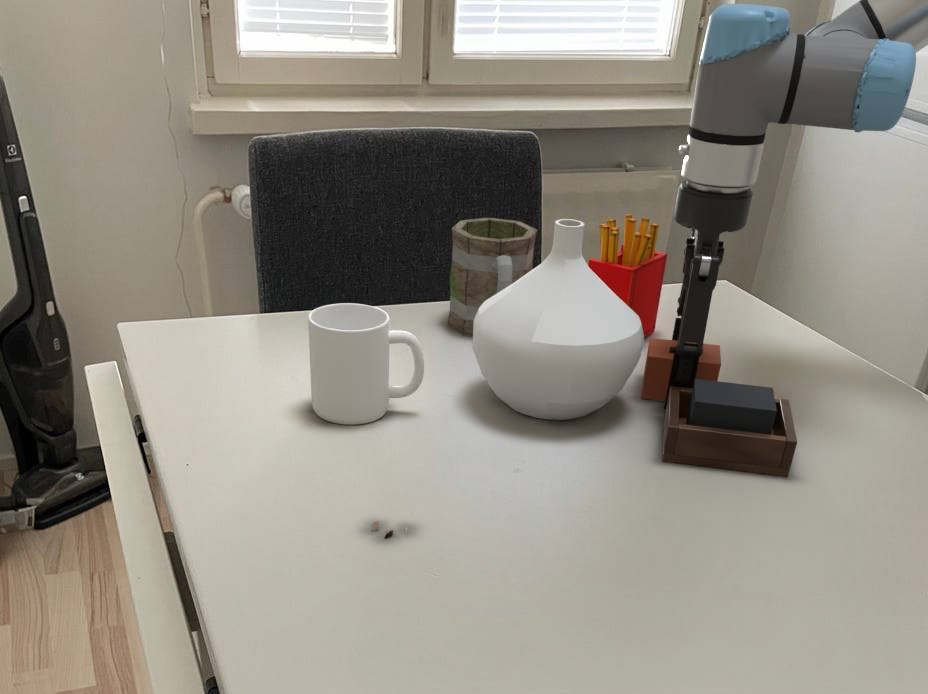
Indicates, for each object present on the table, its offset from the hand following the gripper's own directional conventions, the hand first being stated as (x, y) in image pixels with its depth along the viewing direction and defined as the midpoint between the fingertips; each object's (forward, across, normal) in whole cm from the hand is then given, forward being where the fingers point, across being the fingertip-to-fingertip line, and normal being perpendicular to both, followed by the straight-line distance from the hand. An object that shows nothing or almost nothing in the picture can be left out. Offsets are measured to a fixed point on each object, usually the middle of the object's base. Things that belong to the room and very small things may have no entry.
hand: (676, 390), depth 115 cm
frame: (0, +13, +5) cm, 14 cm away
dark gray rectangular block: (-1, +13, +5) cm, 14 cm away
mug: (0, -13, -24) cm, 27 cm away
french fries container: (0, -16, -8) cm, 18 cm away
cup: (0, +15, -33) cm, 36 cm away
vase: (0, +7, -14) cm, 16 cm away
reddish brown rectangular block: (0, 0, 0) cm, 0 cm away
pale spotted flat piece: (+1, +40, -25) cm, 47 cm away
